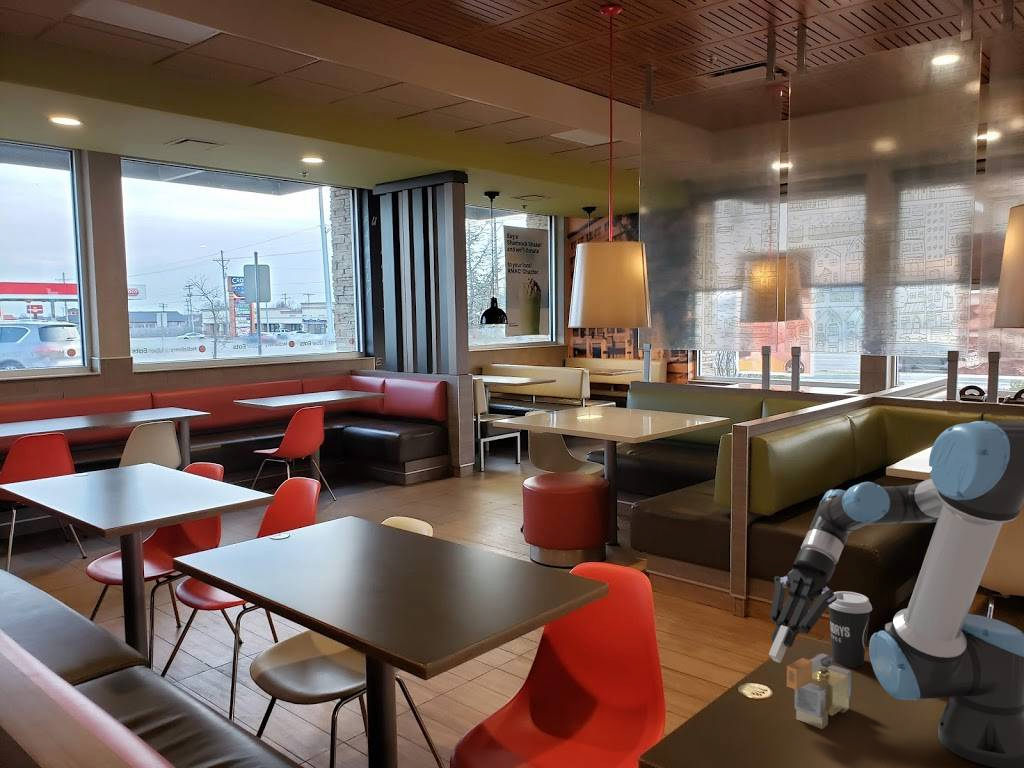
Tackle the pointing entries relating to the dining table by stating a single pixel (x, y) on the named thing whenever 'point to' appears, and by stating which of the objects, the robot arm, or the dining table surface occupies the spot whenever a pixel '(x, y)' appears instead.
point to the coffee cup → (849, 627)
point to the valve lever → (806, 670)
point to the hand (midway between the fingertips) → (774, 658)
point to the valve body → (823, 696)
